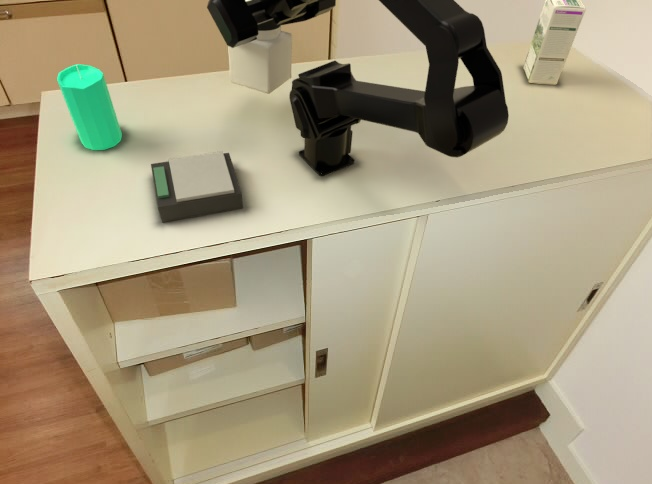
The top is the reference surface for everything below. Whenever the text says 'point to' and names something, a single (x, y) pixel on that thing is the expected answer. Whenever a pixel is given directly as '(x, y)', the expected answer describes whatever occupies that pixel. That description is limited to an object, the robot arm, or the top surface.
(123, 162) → the top surface
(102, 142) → the candle
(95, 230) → the top surface
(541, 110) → the top surface
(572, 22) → the syrup box
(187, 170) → the scale
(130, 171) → the top surface
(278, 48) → the medicine bottle
